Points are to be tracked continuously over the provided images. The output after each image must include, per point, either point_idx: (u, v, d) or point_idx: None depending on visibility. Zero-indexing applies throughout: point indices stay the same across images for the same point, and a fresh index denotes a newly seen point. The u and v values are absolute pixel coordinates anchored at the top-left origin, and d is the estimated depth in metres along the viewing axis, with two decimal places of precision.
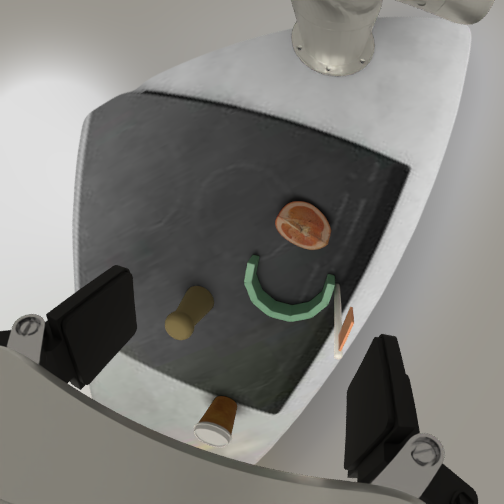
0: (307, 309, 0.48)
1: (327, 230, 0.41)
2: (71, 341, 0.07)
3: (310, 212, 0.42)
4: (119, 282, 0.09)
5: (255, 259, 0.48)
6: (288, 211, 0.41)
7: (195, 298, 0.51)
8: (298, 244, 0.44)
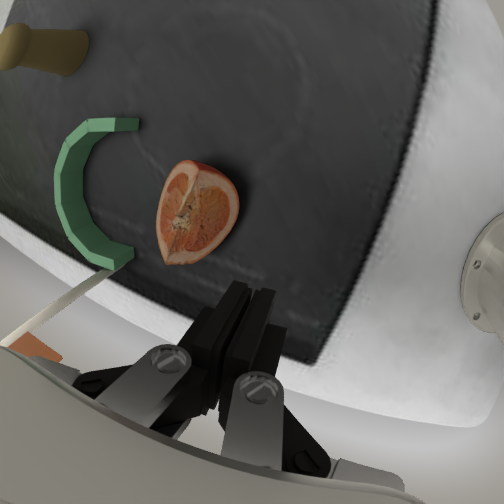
0: (77, 226, 0.27)
1: (190, 257, 0.23)
2: None
3: (219, 223, 0.22)
4: (246, 299, 0.10)
5: (128, 126, 0.22)
6: (213, 185, 0.20)
7: (61, 48, 0.18)
8: (161, 205, 0.23)
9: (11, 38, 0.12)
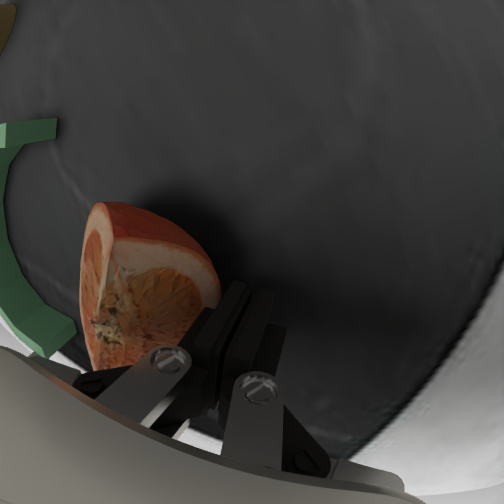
0: (0, 285, 0.15)
1: None
2: None
3: (183, 326, 0.11)
4: (247, 299, 0.10)
5: (34, 135, 0.10)
6: (156, 266, 0.08)
7: None
8: (80, 279, 0.11)
9: None
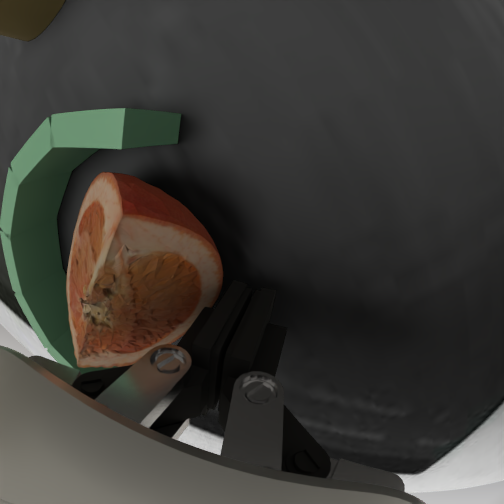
0: (59, 331, 0.13)
1: (122, 359, 0.11)
2: None
3: (177, 314, 0.10)
4: (246, 299, 0.10)
5: (157, 134, 0.09)
6: (162, 250, 0.08)
7: None
8: (71, 251, 0.10)
9: None
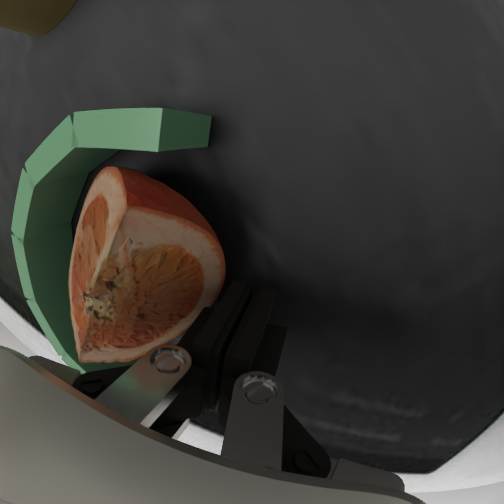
0: None
1: (123, 355, 0.11)
2: None
3: (179, 309, 0.10)
4: (246, 299, 0.10)
5: (190, 137, 0.09)
6: (166, 243, 0.08)
7: None
8: (74, 246, 0.10)
9: None
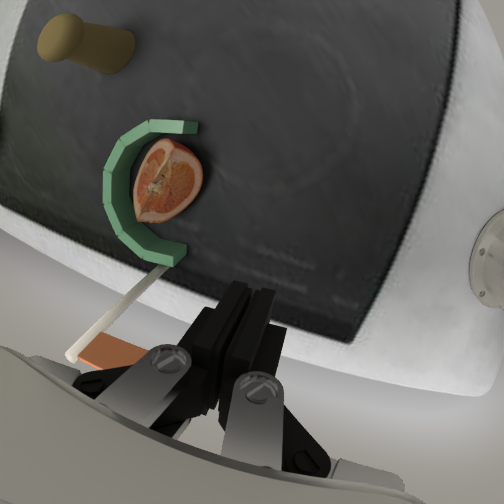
0: (127, 225, 0.29)
1: (158, 218, 0.27)
2: None
3: (184, 192, 0.27)
4: (246, 299, 0.10)
5: (191, 130, 0.25)
6: (183, 161, 0.24)
7: (111, 45, 0.21)
8: (140, 172, 0.26)
9: (66, 28, 0.14)
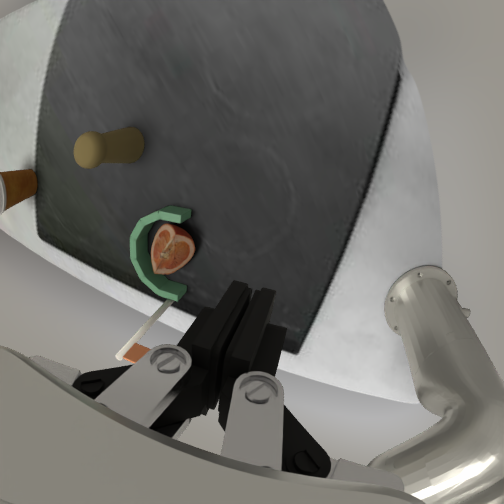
0: (147, 272, 0.46)
1: (167, 271, 0.43)
2: None
3: (183, 257, 0.43)
4: (246, 299, 0.10)
5: (186, 217, 0.41)
6: (182, 240, 0.40)
7: (127, 150, 0.37)
8: (154, 241, 0.43)
9: (94, 149, 0.31)
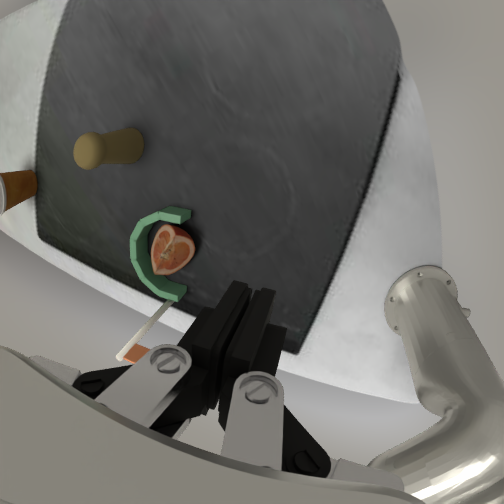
0: (147, 273, 0.46)
1: (167, 272, 0.43)
2: None
3: (183, 257, 0.43)
4: (246, 299, 0.10)
5: (186, 217, 0.41)
6: (182, 241, 0.40)
7: (127, 151, 0.37)
8: (154, 242, 0.43)
9: (94, 150, 0.31)
